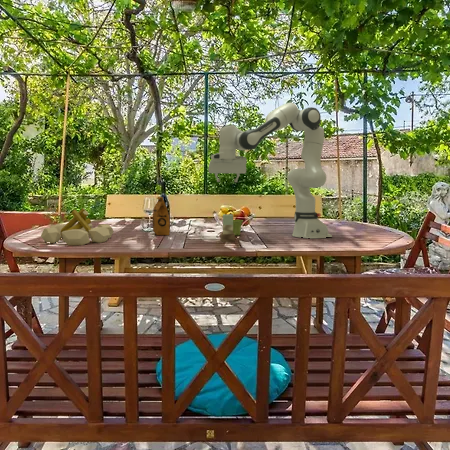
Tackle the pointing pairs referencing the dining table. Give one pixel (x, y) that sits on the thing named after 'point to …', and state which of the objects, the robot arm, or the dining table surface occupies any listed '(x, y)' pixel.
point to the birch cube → (227, 229)
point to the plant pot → (237, 226)
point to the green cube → (227, 219)
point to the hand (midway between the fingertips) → (227, 182)
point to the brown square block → (227, 237)
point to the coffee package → (161, 218)
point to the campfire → (78, 231)
